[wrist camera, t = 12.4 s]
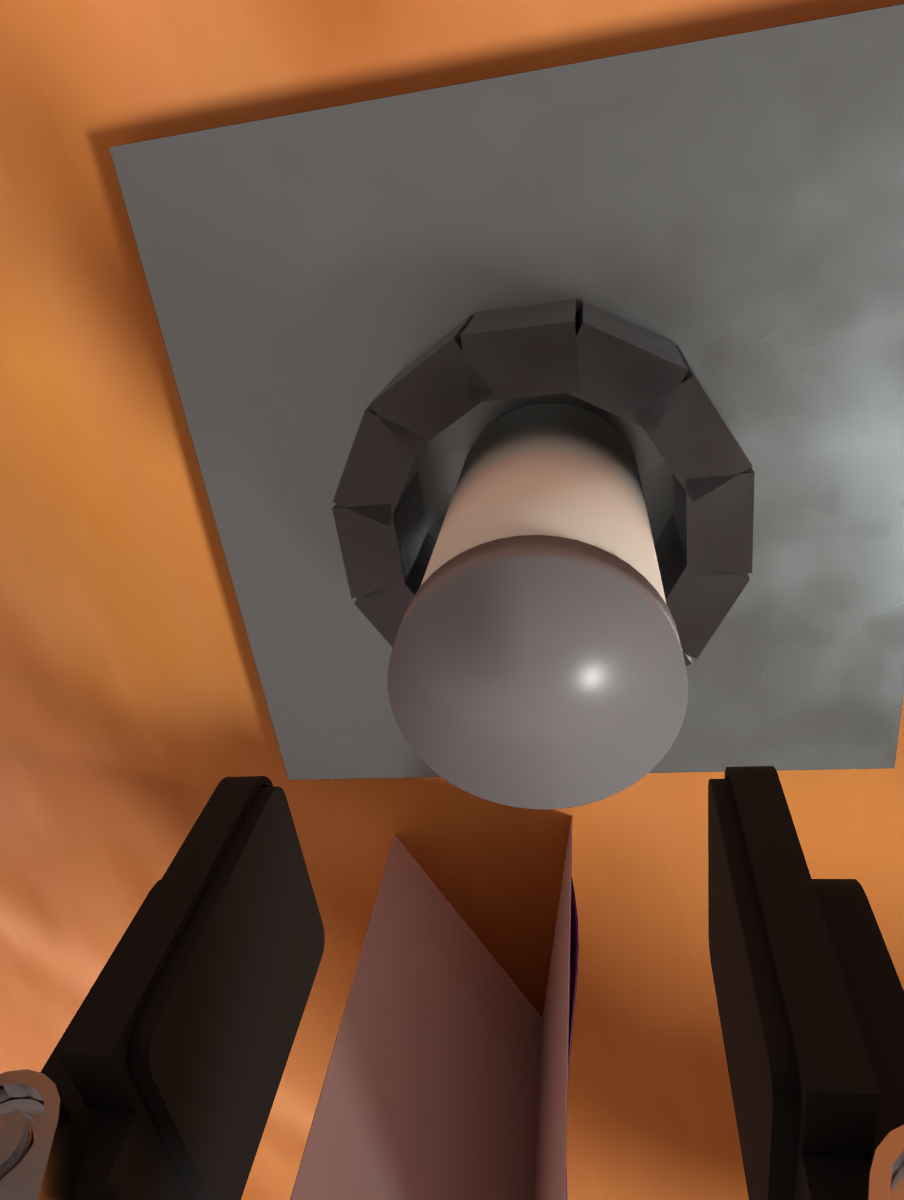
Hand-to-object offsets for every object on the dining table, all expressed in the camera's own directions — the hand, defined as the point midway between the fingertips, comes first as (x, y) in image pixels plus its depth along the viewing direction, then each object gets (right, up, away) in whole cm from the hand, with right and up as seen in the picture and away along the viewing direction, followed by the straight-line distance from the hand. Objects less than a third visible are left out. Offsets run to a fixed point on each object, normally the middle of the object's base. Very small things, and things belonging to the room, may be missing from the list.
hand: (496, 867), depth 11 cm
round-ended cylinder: (+2, +6, +12) cm, 14 cm away
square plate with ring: (+2, +7, +14) cm, 15 cm away
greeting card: (+1, -9, +22) cm, 24 cm away
